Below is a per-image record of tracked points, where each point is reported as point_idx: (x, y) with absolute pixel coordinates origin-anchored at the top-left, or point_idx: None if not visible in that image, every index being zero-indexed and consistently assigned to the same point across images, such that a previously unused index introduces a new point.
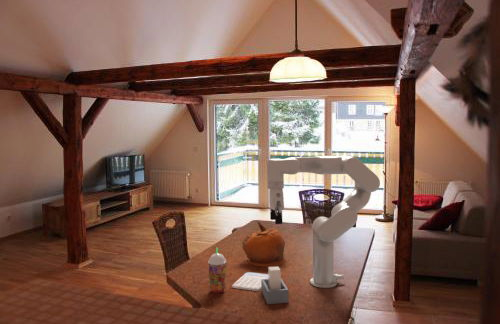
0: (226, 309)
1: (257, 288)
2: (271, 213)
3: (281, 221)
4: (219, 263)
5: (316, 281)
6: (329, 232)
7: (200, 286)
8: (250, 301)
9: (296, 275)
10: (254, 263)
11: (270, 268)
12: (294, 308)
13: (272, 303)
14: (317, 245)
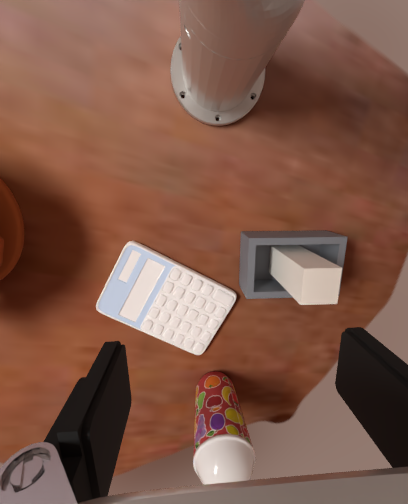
0: (319, 368)
1: (234, 296)
2: (110, 474)
3: (374, 348)
4: (253, 456)
5: (235, 105)
6: None
7: (177, 419)
8: (293, 318)
9: (128, 151)
10: (2, 275)
11: (316, 300)
12: (362, 224)
13: None
14: (284, 18)
